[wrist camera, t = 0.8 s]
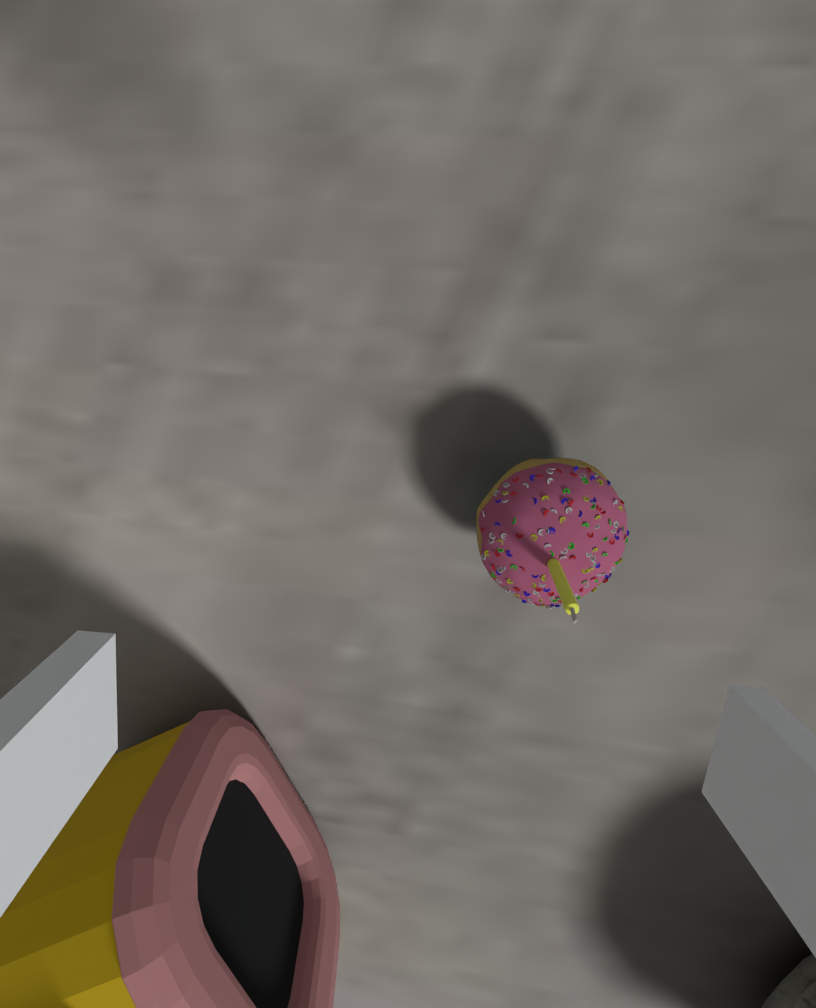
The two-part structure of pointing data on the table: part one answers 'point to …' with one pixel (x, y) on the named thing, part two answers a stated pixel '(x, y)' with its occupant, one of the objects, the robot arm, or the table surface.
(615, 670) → the table surface
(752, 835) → the robot arm
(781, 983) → the bowl
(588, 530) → the cupcake
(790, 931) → the table surface
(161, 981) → the alarm clock
